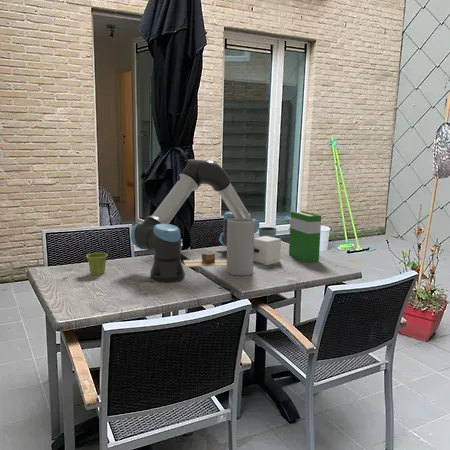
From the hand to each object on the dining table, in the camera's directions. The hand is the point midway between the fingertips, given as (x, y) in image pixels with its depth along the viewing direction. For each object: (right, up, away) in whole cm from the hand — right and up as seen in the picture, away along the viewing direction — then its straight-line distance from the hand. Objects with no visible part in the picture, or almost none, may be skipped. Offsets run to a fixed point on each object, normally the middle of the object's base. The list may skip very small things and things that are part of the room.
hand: (272, 250), depth 229 cm
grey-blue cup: (0, -1, +33) cm, 33 cm away
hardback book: (+18, -5, +13) cm, 23 cm away
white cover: (-3, -6, +4) cm, 8 cm away
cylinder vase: (-17, -10, -17) cm, 26 cm away
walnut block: (-32, -6, -2) cm, 33 cm away
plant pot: (-82, -9, -22) cm, 86 cm away
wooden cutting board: (-32, -6, -2) cm, 33 cm away
